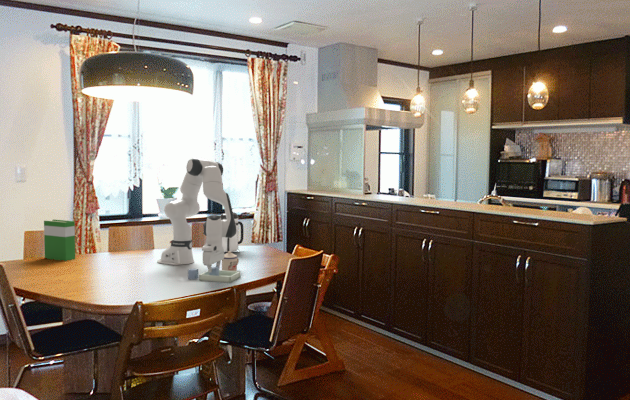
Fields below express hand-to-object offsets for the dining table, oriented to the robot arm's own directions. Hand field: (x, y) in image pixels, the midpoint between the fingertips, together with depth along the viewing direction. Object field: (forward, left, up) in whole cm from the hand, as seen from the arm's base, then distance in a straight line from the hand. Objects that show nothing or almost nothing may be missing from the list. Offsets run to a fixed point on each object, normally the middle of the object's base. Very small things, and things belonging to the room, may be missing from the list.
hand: (213, 270), depth 299 cm
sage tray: (+4, 0, -4) cm, 6 cm away
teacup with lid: (+2, +20, -4) cm, 21 cm away
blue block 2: (0, 0, -3) cm, 3 cm away
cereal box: (-113, +18, -4) cm, 115 cm away
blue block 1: (-10, -4, -4) cm, 12 cm away
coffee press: (-22, +75, -4) cm, 78 cm away
